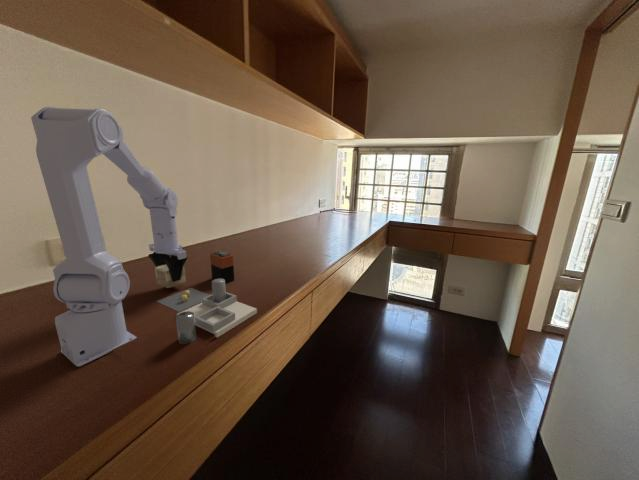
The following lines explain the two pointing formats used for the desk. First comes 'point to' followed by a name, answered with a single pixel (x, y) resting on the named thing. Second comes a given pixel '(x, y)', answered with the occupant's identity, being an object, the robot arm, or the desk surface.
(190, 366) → the desk surface
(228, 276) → the battery
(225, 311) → the build board
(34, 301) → the desk surface
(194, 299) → the tile
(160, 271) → the box
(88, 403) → the desk surface
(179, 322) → the pin
